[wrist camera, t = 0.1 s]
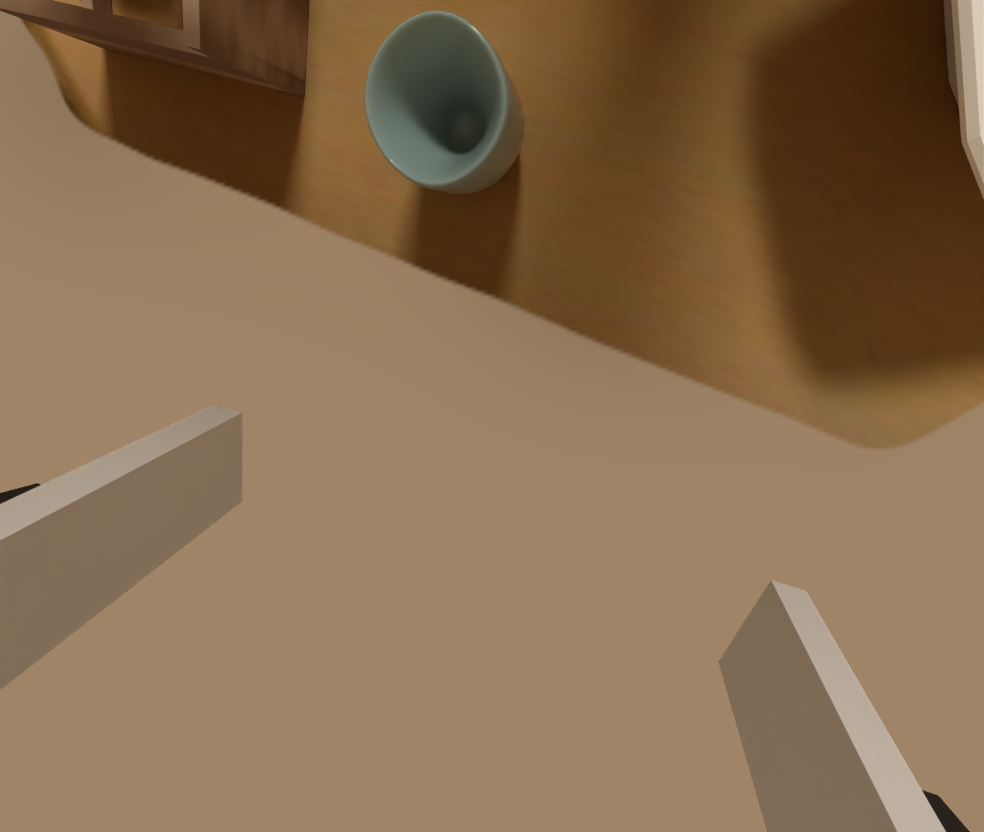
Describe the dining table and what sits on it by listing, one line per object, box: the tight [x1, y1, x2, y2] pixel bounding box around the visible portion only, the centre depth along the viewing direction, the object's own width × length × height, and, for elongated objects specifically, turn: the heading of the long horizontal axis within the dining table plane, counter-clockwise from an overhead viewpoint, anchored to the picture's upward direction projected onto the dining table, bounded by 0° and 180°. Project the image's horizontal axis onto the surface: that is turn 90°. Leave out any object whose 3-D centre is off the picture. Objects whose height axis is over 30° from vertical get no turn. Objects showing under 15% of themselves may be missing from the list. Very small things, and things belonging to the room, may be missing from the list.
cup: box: [364, 10, 524, 194], centre depth 28 cm, size 8×8×10 cm
